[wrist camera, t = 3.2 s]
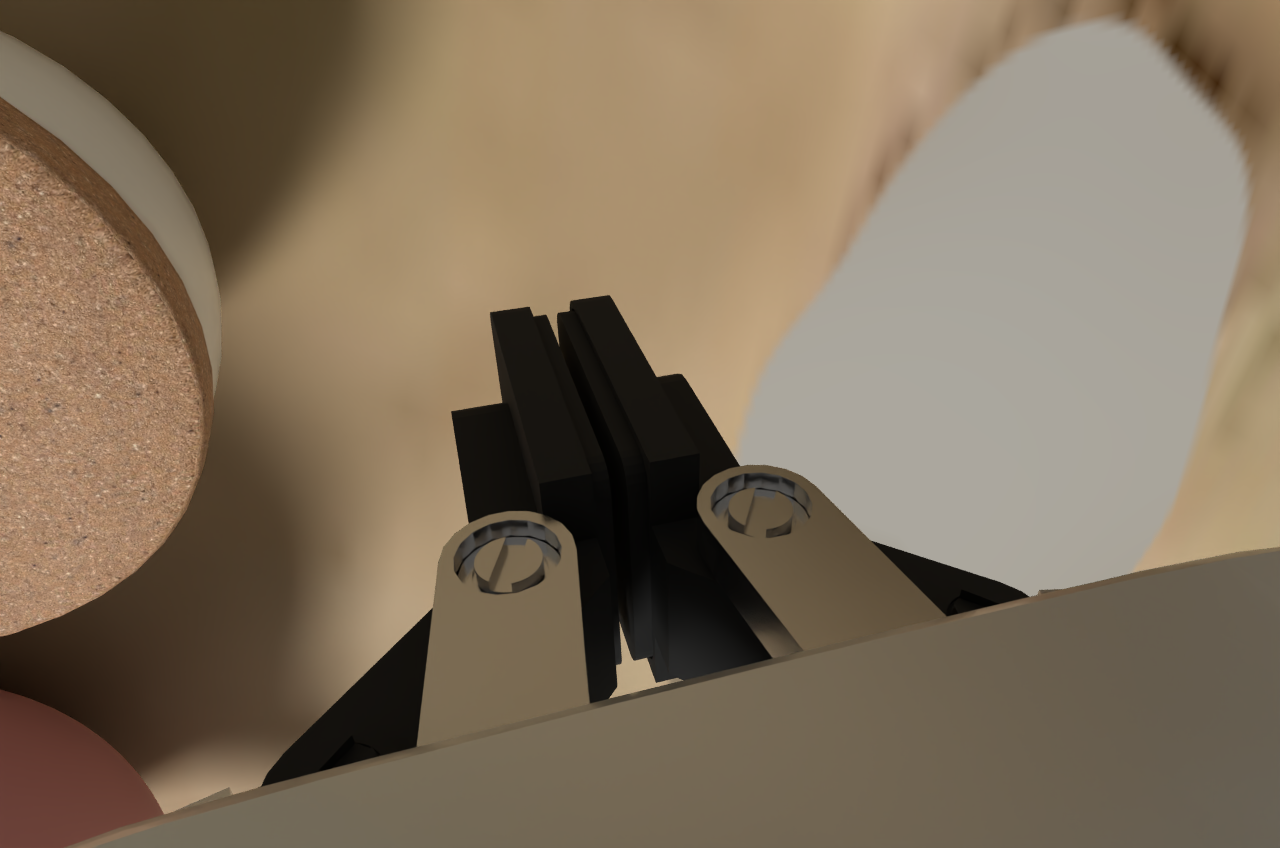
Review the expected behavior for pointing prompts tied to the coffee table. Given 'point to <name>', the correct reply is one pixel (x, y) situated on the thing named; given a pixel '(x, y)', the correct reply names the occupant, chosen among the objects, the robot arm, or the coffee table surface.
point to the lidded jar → (93, 343)
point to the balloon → (62, 779)
